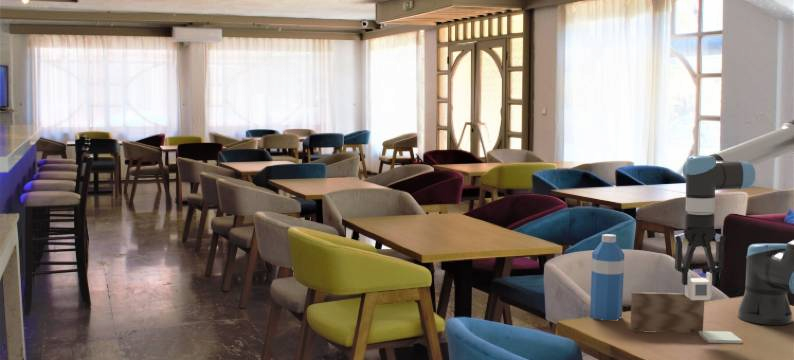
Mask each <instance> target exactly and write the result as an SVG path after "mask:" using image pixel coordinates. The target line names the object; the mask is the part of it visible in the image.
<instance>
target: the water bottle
mask: <svg viewBox="0 0 794 360" xmlns="http://www.w3.org/2000/svg"><path fill="white" fill-rule="evenodd" d="M591 255H592V256H591V279H590V283H591V284H590V301H589V303H590V306H589V316H590V318H592V317H594V318H596V319H595V320H597V319H603V320H617V319H619V318H620V317H622V318H623V300H624V299H623V298H624V295H623V294H624V278H625V277H624V275H625V273H624V272H625V253H624V251H623V250H622V248H621V247H620V246H619V244H618V243H617V235H616V234H611V233H605V234H601V241H600V243H599V244H598V245H597V246H596V247H595V249H594V250H592V253H591ZM594 318H593V319H594ZM603 320H602V321H603Z"/></svg>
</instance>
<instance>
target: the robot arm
mask: <svg viewBox="0 0 794 360" xmlns="http://www.w3.org/2000/svg"><path fill="white" fill-rule="evenodd" d="M789 153H790V154H794V119H792V120H790V121H787V122H785V123H784V122H783V124H781V125H780V126H779V128H778V129H776V130H773V131H771V132H767V133H765V134H762V135H760V136H757V137H754V138H752V139H749V140H747V141H744V142H741V143H739V144H736V145H734V146H731V147H728V148H725V149H723V150H721V151H718V152H714V153H713V154H712V153H711V154H709V155H691V156H690V155H689V156H688V158H687V160H686V161H685V163H683V167H682V175H683V178H684V179H685V211H686V213H685V216H684V218H685V219H684V230H683V232H682V233H679V234H674V235H673V240H674V243H675V248H674V249H675V250H674V251H675V252H674V270H676V271H677V272H679V273H681V284H682V285H683V286H684V293H685V296H686V297H688V298H690V281H691V278H692V274H691V273H690V272H689V271H690V266H691V263H692V261H693V256H694V253H695V251H696V248H698V247H702V248H703V251H704V255H705V259H706V262H707V263H706V264H707V266H708V270H709V271H706V273H705V278H706V279H707V280H708V281H710V299H711V298H712V297H713V295H712V293H713V286H715V284H716V281H717V279H716V278H717V277H716V276H717V274H718V273H719V272H723V270H724V243H725V241H726V238H727V237H726V236H725V235H724V234H722V233H717V232H716V230H715V214H714V212H716V211H715V209H716V207H715V206H716V204H715V203H716V201H715V200H716V191H720V190H723V191H724V190H742V189H749V188H751V187H752V186H753V185H754V183H755V182H756V181H755V180H756V169H755V166H757V165H760V164H763V163H765V162H766V163H767V162H768V161H771V160H775V159H776V158H779V157H781V156H784V155H787V154H789ZM684 239H685V240H686V241H687V242H688V243H687V247H686V248H687V249H686V252H685V256H684V259H683V242H684V241H685V240H684ZM714 239H715V240H714ZM713 240H714V241H715V261H714V256H713V253H712V246H711V243H712V242H713ZM745 258H746V266H745V267H746V269H745V289H744V295H743V296H742V299H741V301H740V304H739V306H738V309H737V317H738V319H741V320H743V321H744V322H749V323H753V324H758V325H759V324H760V325H766V326H767V325H769V326H782V325H783V326H785V325H790V324H792V322H793V312H792V309H791V305H790V302H789V301H790V300H789V299H788V293H789V294H793V295H794V239H792V240H791V241H789V242H787V243H752V244H750V245H749V246H748V248H747V253H746V257H745Z"/></svg>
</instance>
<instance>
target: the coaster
mask: <svg viewBox="0 0 794 360" xmlns="http://www.w3.org/2000/svg"><path fill="white" fill-rule="evenodd" d="M698 335H699V336H700V337H701V338H703V340H704V341H706V342H707V343H711V344H712V343H713V344H718V343H719V344H720V343H721V344H742V343H743V340H742V339H741V338H740V337H739V336H737V335H736V334H734V332H732V331H724V330H723V331H722V330H721V331H720V330H719V331H718V330H715V331H714V330H703V331H699V334H698Z"/></svg>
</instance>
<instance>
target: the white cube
mask: <svg viewBox="0 0 794 360" xmlns="http://www.w3.org/2000/svg"><path fill="white" fill-rule="evenodd" d="M690 299H691V300H704V301H711V298H710V281H708V280H707V279H706V277H691V281H690Z"/></svg>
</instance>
